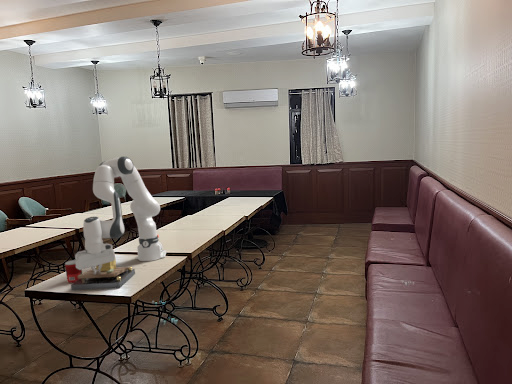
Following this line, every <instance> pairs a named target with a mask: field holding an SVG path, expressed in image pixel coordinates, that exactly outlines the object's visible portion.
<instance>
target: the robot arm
mask: <svg viewBox="0 0 512 384" xmlns="http://www.w3.org/2000/svg"><path fill="white" fill-rule="evenodd" d="M118 177H120V178H121V181H122V183H123V185H124V187H125V190H126V192H127V194H128V195H129V197H131V199H132V201H131V202H130V206H129V207H130V211H131V212H132V213H133V216H134V218H135V221H136V224H137V230H138V237H139V238H138V246H137V256H136V257H135V260H138V261H140V262H151V261H156V260H159V259H164V258H166V254H167V252H166V251H167V250H165V249H164V248H163V247H164V246H163V244H162V243H161V242H160V238H159V237H160V235H159V234H158V233H157V225H156V224H157V223H156V222H155V221H154V219H153V217H155V216H157V215H159V214H160V211H161V205H160V203H159V202H158V201H157V200H156V199H155V198H154V197H153V196H152V194H151V193H150V192H149V190H148V189H147V187H146V186H145V183H144V181H143V178H142V177H141V175H140V173H139V171H138V169H137V168H136V166H135V165H134V162H133V160H132V159H131V158H130V157H128V156H120V157H114V158H111V159H107V160H104V161H102V162H101V163H99V165H98V166H96V169H95V172H94V176H93V182H92V192H93V194H94V196H95V197H96V198H97V199H100V200H102V201H105V202H107V203H109V204H111V209H112V219H110V220H109V219H108V220H101V219H100V218H99V216H89V217H86V218H85V219H84V220H83V224H82V225H83V227H82V228H83V229H82V231H83V238H84V248H85V250H81V251H77V253H75V254H74V258H75V259H74V260H76V268H77V269H78V270H82V271H83V270H85V269H90V268H91V270H93V271H94V274H98V273H100V270H101V267H102V264H105V263H108V262H112V261H114V260H115V258H116V255H115V253H116V252H115V250H114V249H113V244H111V243H107V242H104V240H103V239H119V238H121V237H122V236H123V235H124V234H125V225H124V219H123V211H122V203H121V199H120V198H121V197H120V194H119V193H118V192H117V191H116V190H115V178H118ZM97 265H98V266H99V267H98V270H95V268H96V266H97Z"/></svg>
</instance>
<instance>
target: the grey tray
mask: <svg viewBox="0 0 512 384" xmlns="http://www.w3.org/2000/svg"><path fill="white" fill-rule="evenodd" d="M127 267H128V270H126V271H124V272H123V273H121V274H119V275H117V276H115V277H100V278H80V279H78V280H77V281H76V282H74V283H70V289H71V291H81V290H82V291H83V290H107V289H108V290H109V289H120V288H122V287H123V286H124V285H126V283H127V282H129V280H130V279H132V278H133V277H134V276H135V275H136V269H135V268H133V267H132V266H127Z"/></svg>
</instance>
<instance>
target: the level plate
mask: <svg viewBox="0 0 512 384" xmlns="http://www.w3.org/2000/svg"><path fill="white" fill-rule="evenodd" d="M116 260H117V259H116V257H115V260H114V261H112V262H108V263H105V264H102V267H101V270H100V273H98V274H94V271H93V270H92V269H90V270H86V272H82V274H80V275H78V279H79V278H100V277H115V276H117V275H119V274H121V273H123V272H124V271H126V270H128V267H129V266H117V263H116V262H117V261H116ZM98 267H99V266H98V265H97V266H95V270H98Z"/></svg>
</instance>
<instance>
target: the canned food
mask: <svg viewBox="0 0 512 384" xmlns="http://www.w3.org/2000/svg"><path fill="white" fill-rule="evenodd" d="M64 266H65V273H66V281H67V283H69V284H73V283H74V282H76V281H77V280H78V275H80V274H83V269H82V270H78V269H77V268H76V259H72V260H69V261H66V262H65V263H64ZM79 279H80V278H79Z"/></svg>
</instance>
